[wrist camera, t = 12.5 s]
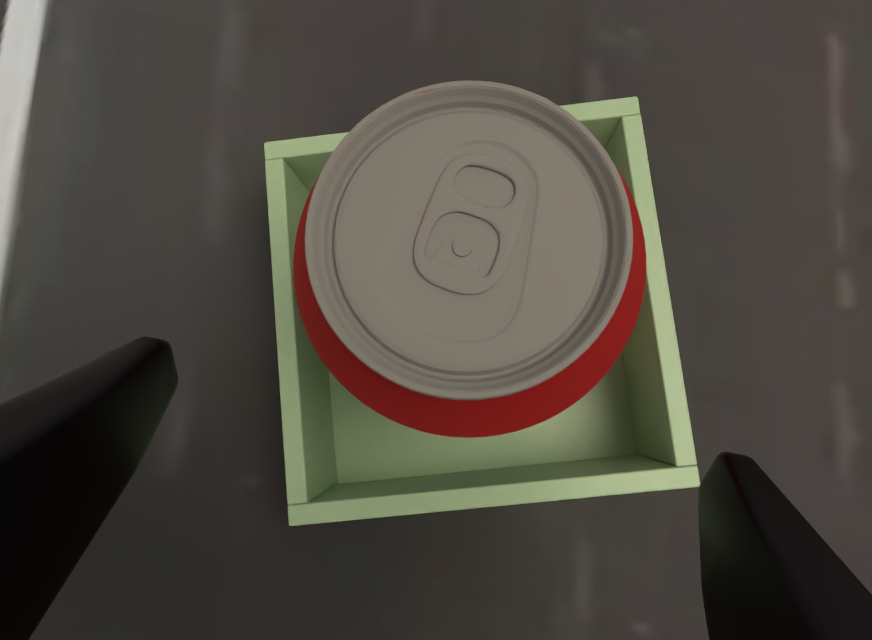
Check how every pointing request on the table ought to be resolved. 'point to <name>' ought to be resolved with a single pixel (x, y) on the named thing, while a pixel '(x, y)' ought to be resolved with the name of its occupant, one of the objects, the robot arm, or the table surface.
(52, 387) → the robot arm
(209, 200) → the table surface
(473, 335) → the beverage can
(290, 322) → the bin
